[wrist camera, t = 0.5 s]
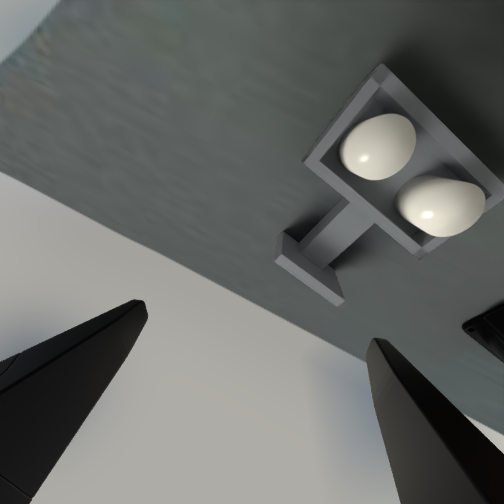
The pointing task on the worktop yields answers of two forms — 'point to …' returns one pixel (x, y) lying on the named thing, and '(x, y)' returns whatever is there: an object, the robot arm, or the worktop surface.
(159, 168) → the worktop surface
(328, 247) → the tray
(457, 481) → the robot arm
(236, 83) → the worktop surface
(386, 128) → the cream rounded block
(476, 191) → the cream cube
